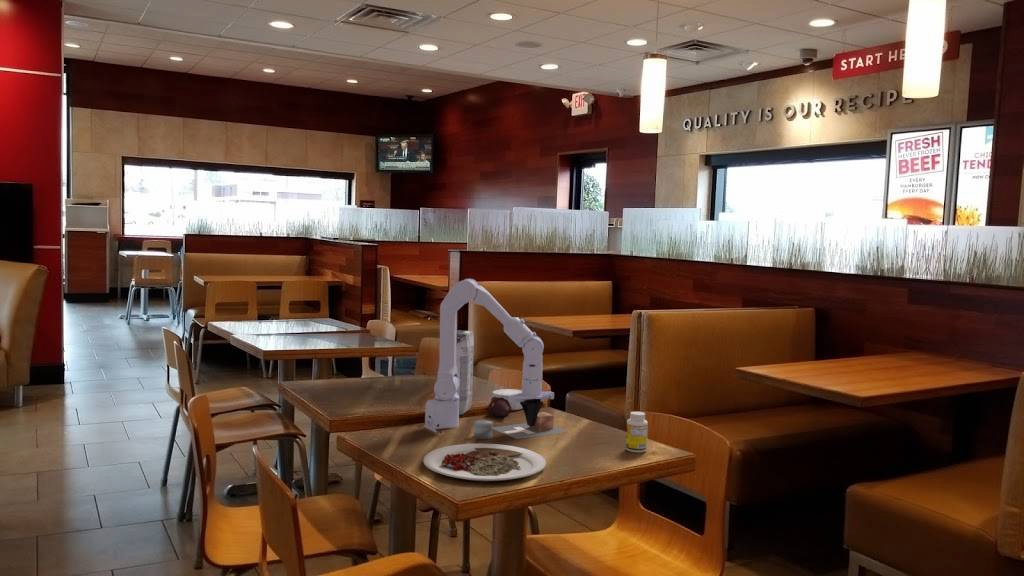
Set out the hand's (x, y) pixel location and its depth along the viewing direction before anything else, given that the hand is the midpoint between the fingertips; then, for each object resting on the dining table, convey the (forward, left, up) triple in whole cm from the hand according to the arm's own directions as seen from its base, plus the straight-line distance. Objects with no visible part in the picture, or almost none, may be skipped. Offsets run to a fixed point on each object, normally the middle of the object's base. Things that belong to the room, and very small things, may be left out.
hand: (530, 425), depth 227 cm
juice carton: (-6, +33, -2) cm, 34 cm away
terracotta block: (+4, 0, -1) cm, 4 cm away
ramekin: (+13, +31, -3) cm, 34 cm away
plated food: (-28, -22, -3) cm, 36 cm away
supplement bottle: (+16, -28, -2) cm, 32 cm away
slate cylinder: (-16, -1, -2) cm, 17 cm away
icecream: (+1, +19, -2) cm, 19 cm away
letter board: (0, 0, -2) cm, 2 cm away
